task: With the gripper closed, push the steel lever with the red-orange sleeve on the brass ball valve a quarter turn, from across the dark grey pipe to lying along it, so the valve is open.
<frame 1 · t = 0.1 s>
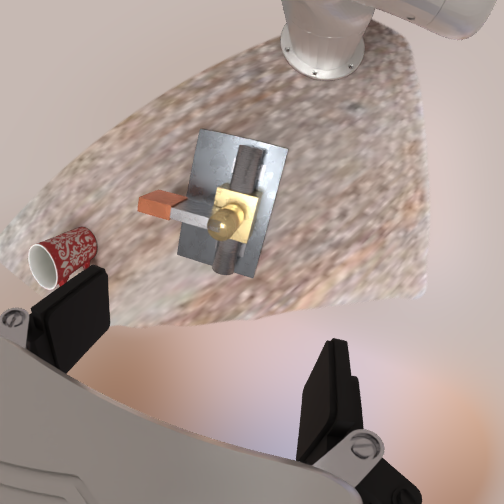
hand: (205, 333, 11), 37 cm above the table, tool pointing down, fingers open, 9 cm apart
valve: (239, 207, 47), on the table
mug: (89, 249, 57), on the table
lever: (191, 211, 40), point 8 cm above the table, hinge at 0.0°
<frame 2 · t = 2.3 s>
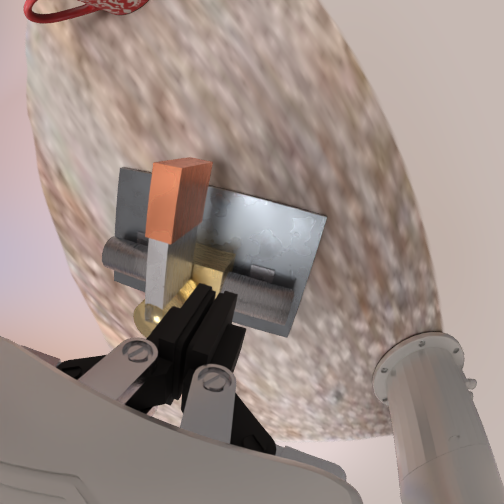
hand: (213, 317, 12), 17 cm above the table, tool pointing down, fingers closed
valve: (200, 268, 32), on the table
mug: (122, 0, 23), on the table
lever: (173, 251, 22), point 8 cm above the table, hinge at 0.0°
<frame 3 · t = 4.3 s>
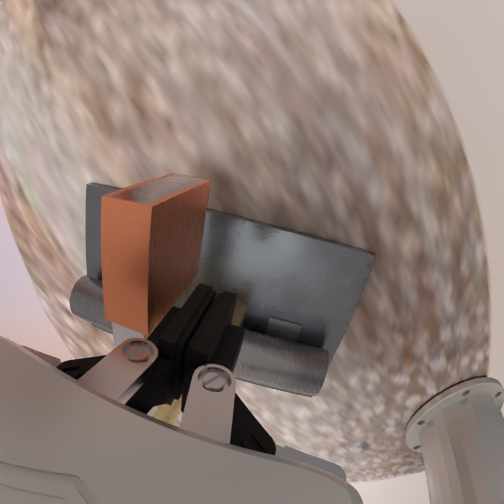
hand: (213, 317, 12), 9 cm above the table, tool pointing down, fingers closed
valve: (200, 318, 23), on the table
lever: (156, 325, 14), point 8 cm above the table, hinge at 1.0°, touching gripper
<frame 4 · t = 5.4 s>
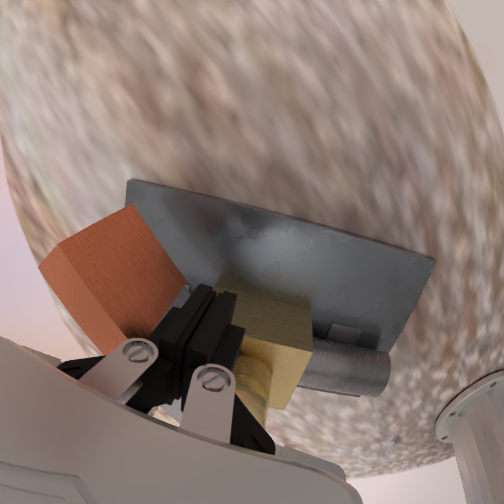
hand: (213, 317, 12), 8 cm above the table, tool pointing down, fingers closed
valve: (255, 326, 22), on the table
lever: (176, 347, 14), point 8 cm above the table, hinge at 45.0°, touching gripper
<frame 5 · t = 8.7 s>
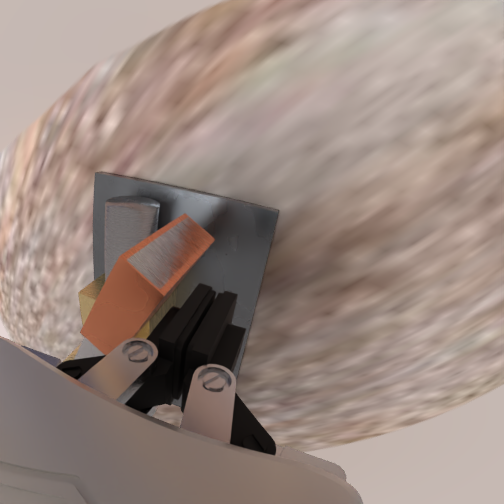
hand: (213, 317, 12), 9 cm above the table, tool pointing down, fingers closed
valve: (145, 310, 24), on the table
lever: (115, 333, 15), point 8 cm above the table, hinge at 62.0°, touching gripper
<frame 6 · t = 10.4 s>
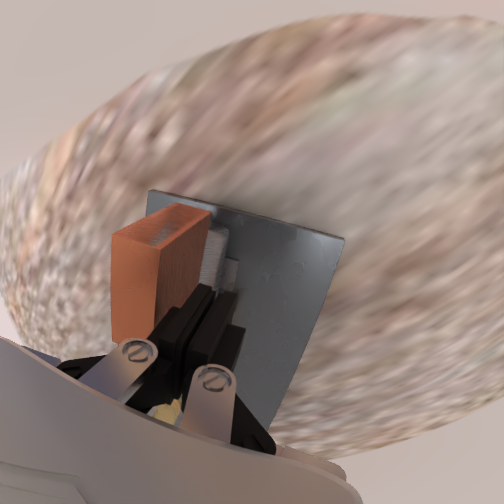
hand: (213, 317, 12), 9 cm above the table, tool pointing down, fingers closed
valve: (195, 331, 24), on the table
lever: (157, 343, 15), point 8 cm above the table, hinge at 88.9°
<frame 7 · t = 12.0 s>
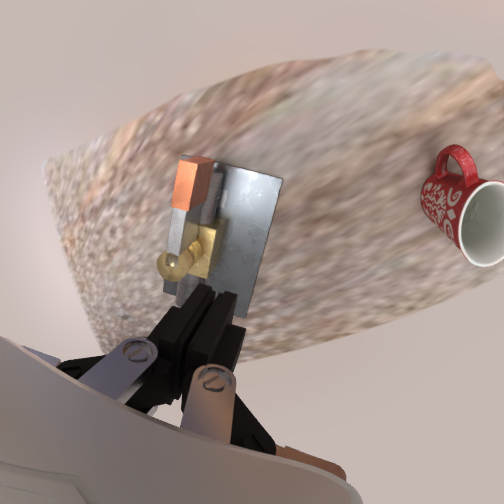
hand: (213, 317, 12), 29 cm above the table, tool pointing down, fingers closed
valve: (202, 236, 43), on the table
mug: (438, 185, 34), on the table
lever: (186, 218, 33), point 8 cm above the table, hinge at 89.0°
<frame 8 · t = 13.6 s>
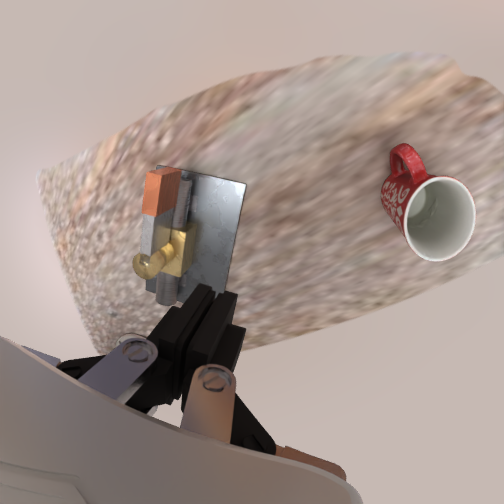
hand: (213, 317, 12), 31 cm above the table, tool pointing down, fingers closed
valve: (177, 239, 46), on the table
mug: (399, 184, 37), on the table
lever: (157, 223, 37), point 8 cm above the table, hinge at 89.0°
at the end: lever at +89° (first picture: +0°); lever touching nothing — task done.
